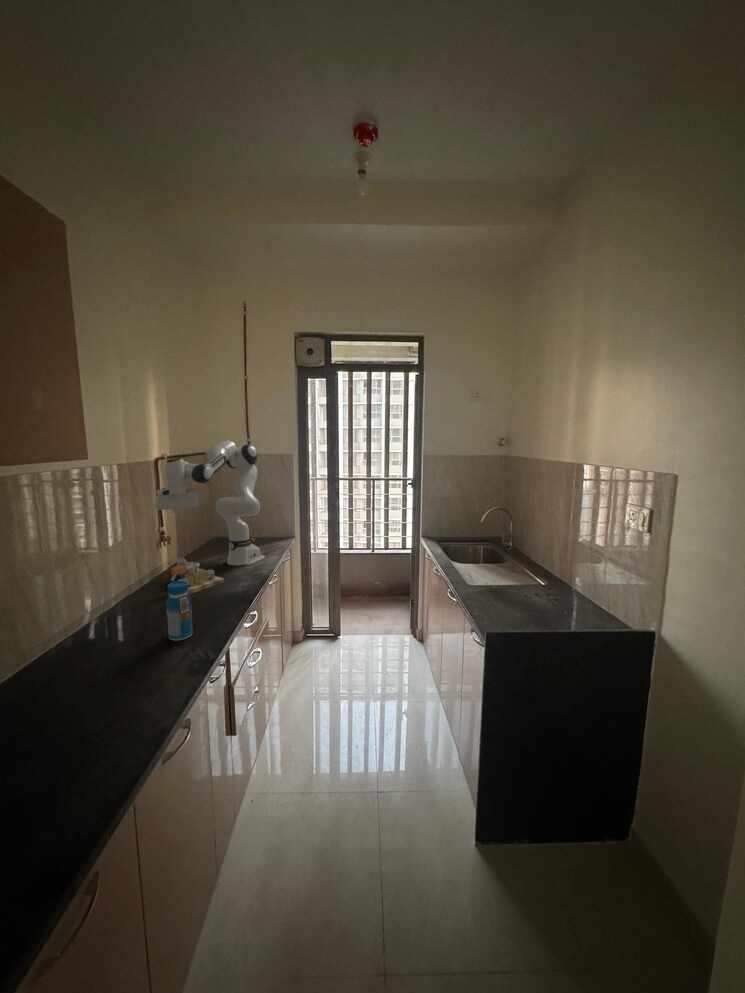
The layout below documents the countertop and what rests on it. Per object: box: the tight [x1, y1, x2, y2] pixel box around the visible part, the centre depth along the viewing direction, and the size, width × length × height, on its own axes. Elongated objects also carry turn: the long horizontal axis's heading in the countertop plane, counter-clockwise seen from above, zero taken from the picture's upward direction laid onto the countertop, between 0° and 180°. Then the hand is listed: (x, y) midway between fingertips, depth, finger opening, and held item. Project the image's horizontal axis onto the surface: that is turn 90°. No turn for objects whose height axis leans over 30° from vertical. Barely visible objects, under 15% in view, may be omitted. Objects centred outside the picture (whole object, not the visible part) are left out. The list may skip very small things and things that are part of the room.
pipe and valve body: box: [177, 567, 216, 586], centre depth 193 cm, size 18×5×8 cm, turn 149°
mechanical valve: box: [165, 556, 195, 589], centre depth 199 cm, size 10×18×15 cm
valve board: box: [187, 575, 225, 596], centre depth 194 cm, size 22×12×2 cm, turn 149°
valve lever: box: [170, 562, 200, 576], centre depth 188 cm, size 13×3×3 cm, turn 148°
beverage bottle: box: [165, 580, 194, 642], centre depth 144 cm, size 8×8×20 cm
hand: (178, 516), depth 203 cm, fingers closed
